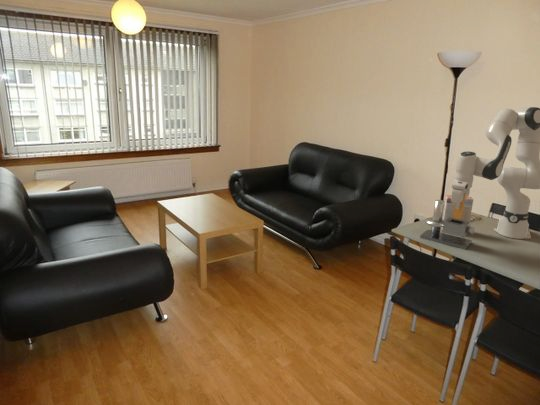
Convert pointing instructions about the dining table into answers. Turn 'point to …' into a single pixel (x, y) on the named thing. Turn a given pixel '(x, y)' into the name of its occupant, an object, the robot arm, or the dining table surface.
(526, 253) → the dining table surface
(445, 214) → the cracker box
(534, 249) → the dining table surface
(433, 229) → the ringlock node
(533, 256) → the dining table surface
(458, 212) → the orange rectangular bar
